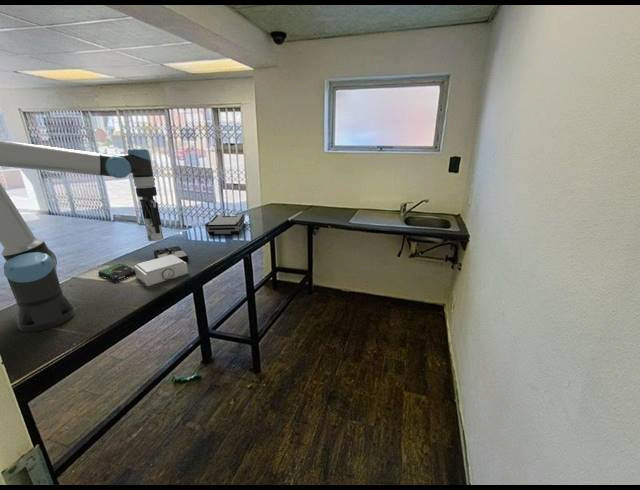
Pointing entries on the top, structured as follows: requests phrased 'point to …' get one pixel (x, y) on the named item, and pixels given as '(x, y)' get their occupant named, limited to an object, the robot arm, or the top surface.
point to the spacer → (150, 229)
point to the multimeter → (171, 253)
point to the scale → (160, 269)
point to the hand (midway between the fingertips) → (155, 238)
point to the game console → (225, 225)
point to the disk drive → (117, 272)
